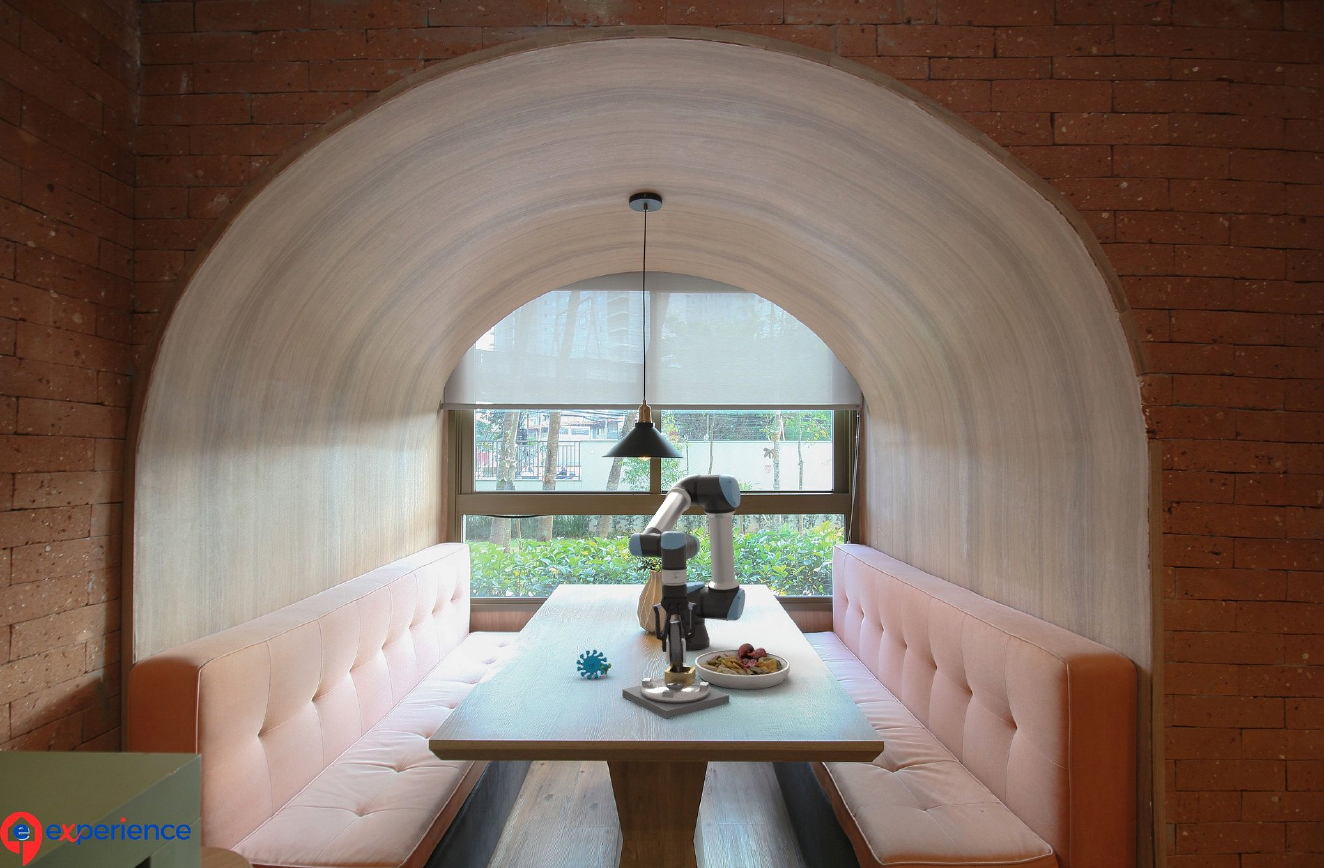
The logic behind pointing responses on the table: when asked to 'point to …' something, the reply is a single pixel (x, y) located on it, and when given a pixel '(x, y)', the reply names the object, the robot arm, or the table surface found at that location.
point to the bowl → (742, 668)
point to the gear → (593, 664)
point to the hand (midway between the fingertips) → (675, 662)
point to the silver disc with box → (675, 687)
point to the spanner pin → (675, 647)
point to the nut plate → (675, 708)
